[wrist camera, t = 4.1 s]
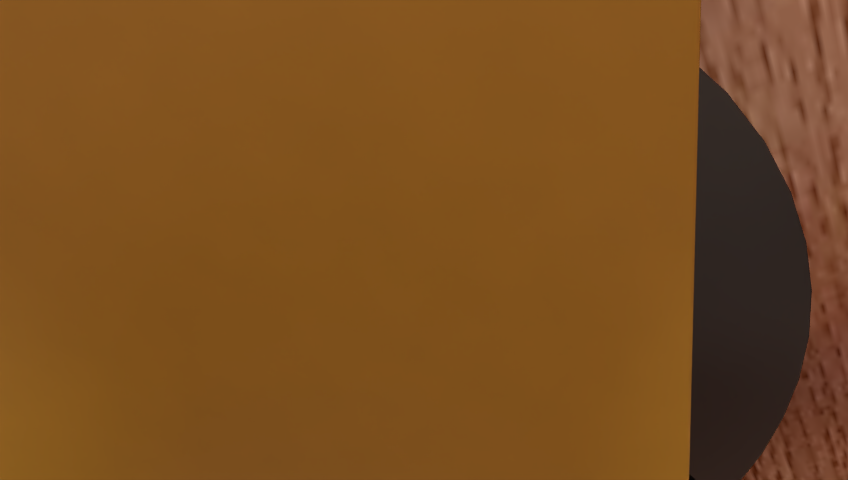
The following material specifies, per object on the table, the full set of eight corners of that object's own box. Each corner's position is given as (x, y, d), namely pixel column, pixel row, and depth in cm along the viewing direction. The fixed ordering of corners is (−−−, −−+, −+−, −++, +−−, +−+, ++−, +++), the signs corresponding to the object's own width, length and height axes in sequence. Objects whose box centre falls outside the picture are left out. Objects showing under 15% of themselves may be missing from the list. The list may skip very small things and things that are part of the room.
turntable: (936, 62, 6) (1047, 61, 5) (615, 590, 12) (633, 646, 11) (-6, -105, 6) (-113, -146, 5) (125, 518, 12) (90, 567, 11)
